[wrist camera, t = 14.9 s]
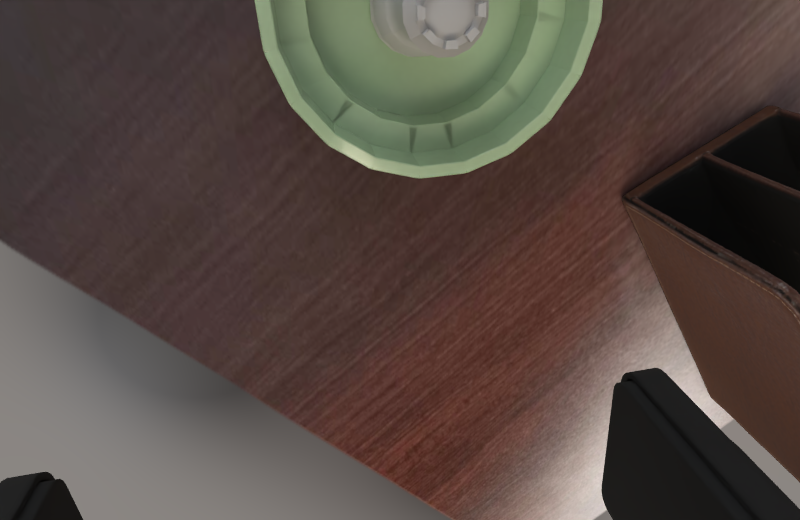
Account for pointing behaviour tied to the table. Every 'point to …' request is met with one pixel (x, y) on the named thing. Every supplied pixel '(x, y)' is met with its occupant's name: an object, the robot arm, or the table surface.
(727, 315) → the letter holder
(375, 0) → the rook chess piece
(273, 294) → the table surface
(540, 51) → the bowl
